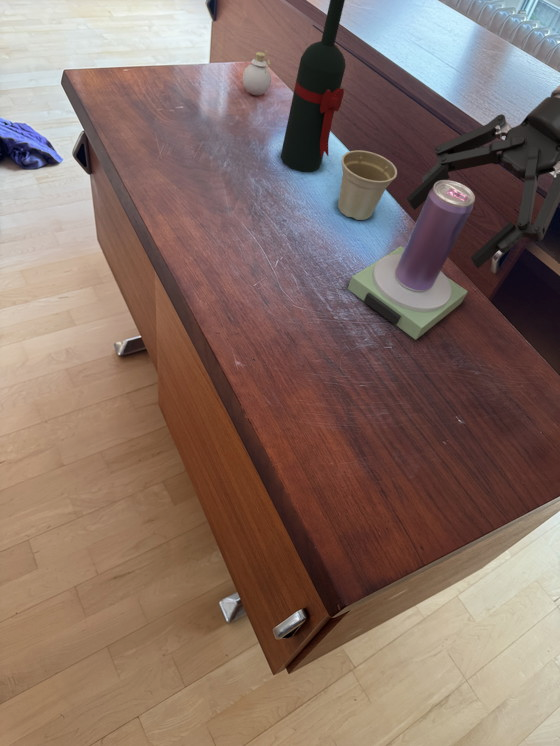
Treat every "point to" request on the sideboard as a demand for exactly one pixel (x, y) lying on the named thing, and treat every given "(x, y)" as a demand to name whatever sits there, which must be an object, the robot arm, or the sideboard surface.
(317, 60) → the wine bottle
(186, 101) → the sideboard surface
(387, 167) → the flower pot
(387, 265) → the scale
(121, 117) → the sideboard surface
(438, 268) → the beverage can
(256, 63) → the ornament
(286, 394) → the sideboard surface
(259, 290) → the sideboard surface
